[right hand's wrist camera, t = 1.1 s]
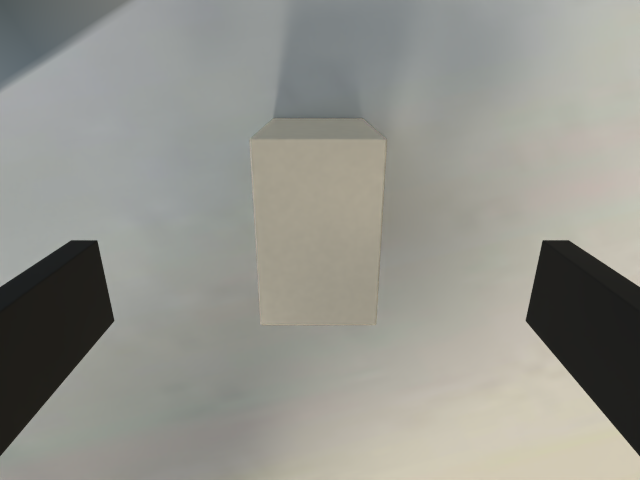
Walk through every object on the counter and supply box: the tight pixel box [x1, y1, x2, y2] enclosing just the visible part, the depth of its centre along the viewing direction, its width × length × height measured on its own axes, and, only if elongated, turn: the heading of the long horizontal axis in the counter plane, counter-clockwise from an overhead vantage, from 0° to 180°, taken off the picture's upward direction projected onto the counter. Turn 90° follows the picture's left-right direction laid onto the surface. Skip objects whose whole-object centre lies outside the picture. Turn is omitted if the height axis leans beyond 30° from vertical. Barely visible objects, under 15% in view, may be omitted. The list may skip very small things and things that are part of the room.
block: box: [249, 118, 387, 325], centre depth 20 cm, size 5×8×8 cm, turn 0°
